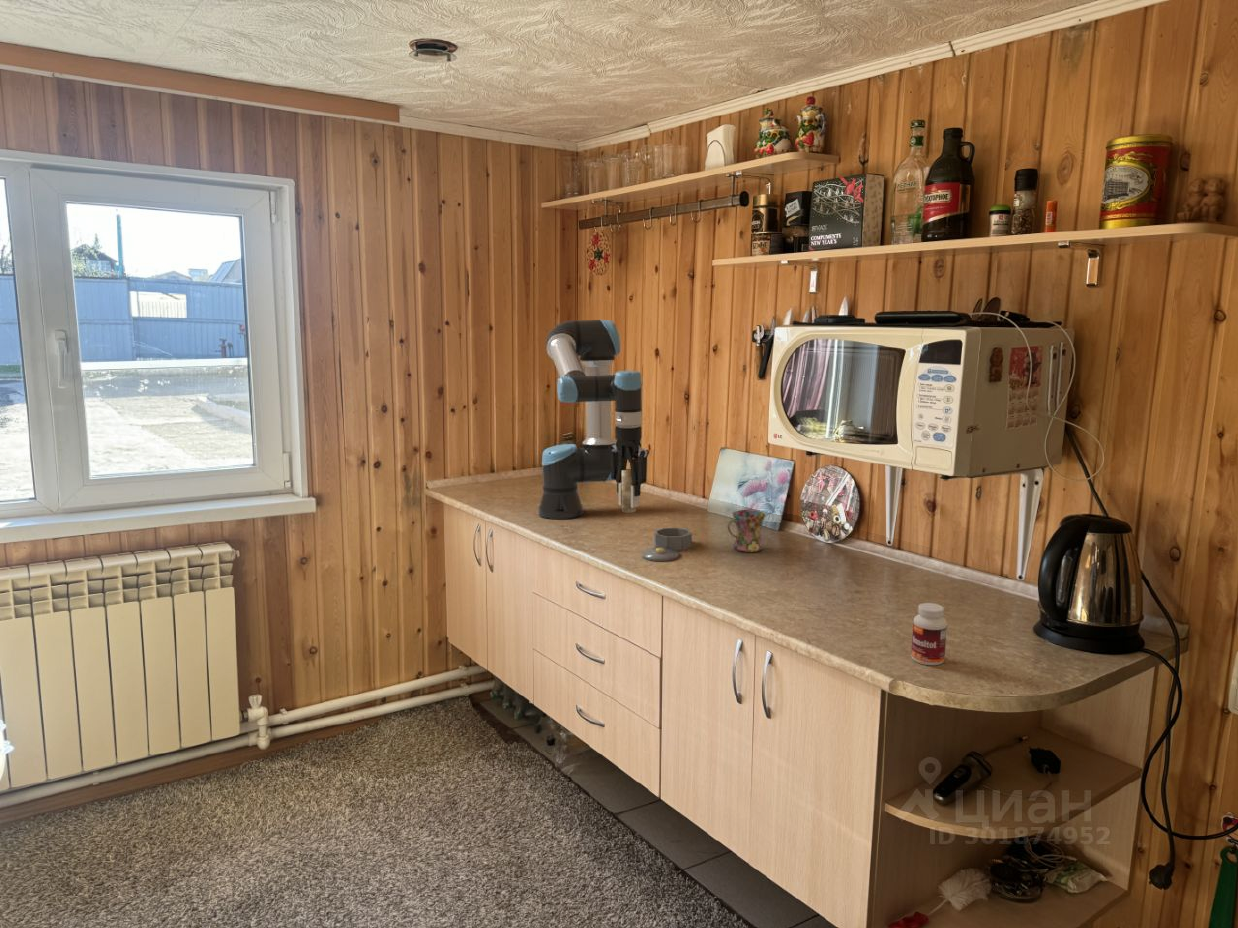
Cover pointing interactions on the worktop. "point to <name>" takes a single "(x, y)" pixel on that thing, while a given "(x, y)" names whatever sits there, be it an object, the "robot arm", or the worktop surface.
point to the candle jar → (673, 538)
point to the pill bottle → (929, 635)
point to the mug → (748, 530)
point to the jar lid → (660, 554)
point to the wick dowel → (627, 491)
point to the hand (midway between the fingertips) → (628, 505)
